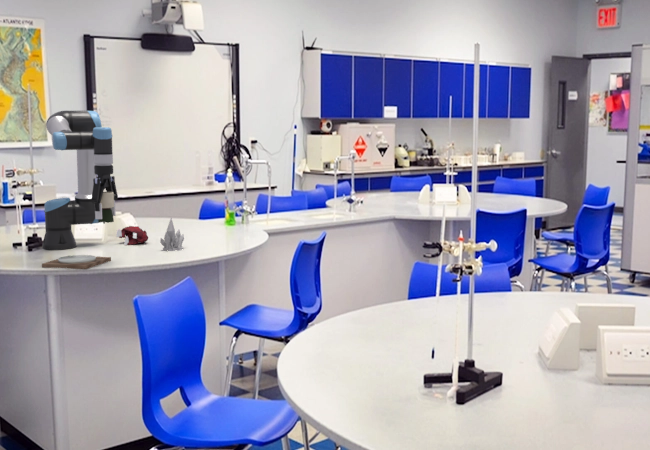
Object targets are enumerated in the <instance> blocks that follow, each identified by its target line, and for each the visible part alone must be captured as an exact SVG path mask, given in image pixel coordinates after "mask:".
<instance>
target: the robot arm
mask: <svg viewBox="0 0 650 450" xmlns="http://www.w3.org/2000/svg"><path fill="white" fill-rule="evenodd" d="M45 127H46V130H47V131H48V133H49V134H50V135H51V137H52V138H51V139H52V148H53V149H54V150H55V151H73V150H74V151H76V169H77V171H76V172H77V173H76V175H77V194H75V195H74V200H71V198H70V197H59V198H54V199H49V200H47V201H45V202H44V210H43V211H44V221H45V222H44V223H45V224H44V226H45V227H44V228H45V233H44V237H43V241H42V243H41V244H42V245H41V246H42V249H43V250H49V251H50V250H51V251H52V250H53V251H59V250H68V249H69V250H71V249H73V248H76V247H77V242H76V239H75V237H74V234H73V232H72V225H73V226H75V225H93V224H99V222H98V219H102V203H100V202H101V198H102V195H103V192H113V193H114V207H112V208H111V210H112V213H113V217H114V216H115V217H116V201H118V200H119V199H118V198H119V195H118V192H117V191H118V190H117V187H116V180H115V176H114V166H113V165H112V164H114V157H113V156H114V154H113V153H114V152H113V133H112V131H113V129H112V128H111V127H109V126H108V127H106V126H105V127H104V126H102V121H101V118H100V114H99V113H98V112H97V111H95V110H61V111H57V112H54V113H52V115H50V116H49V117H48V118H47V120H46V123H45Z"/></svg>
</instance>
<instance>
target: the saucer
mask: <svg viewBox="0 0 650 450" xmlns="http://www.w3.org/2000/svg"><path fill="white" fill-rule="evenodd" d="M96 257H97V256H95V255H91V254H89V255H88V254H73V255H65V256H62V257H59V258H57V259H58V262H60V263H67V264H76V263H87V262H92V261H95V260H96Z"/></svg>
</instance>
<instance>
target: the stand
mask: <svg viewBox="0 0 650 450" xmlns="http://www.w3.org/2000/svg"><path fill="white" fill-rule="evenodd" d="M95 257H96V260H95V261H92V262H87V263H76V264H67V263H60V262H58V259H59V258H56V259H54V260H53V259H52V260H50V261H47V262H44V263H41V268H46V269H47V268H51V269H75V270H88V269H91V268H95V267H98V266H99V265H102V264H105V263H109V262H111V261H112V257H111V256H95ZM108 261H109V262H108Z"/></svg>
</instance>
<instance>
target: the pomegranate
mask: <svg viewBox="0 0 650 450" xmlns="http://www.w3.org/2000/svg"><path fill="white" fill-rule="evenodd" d="M115 235H116V236H115V237H116V238H119V239H122V238H123V240H124V242H123V243H124V246H127V245H128V246H131V245H138V244H145V243H146V242H147V241H148V240H149V236H148V234H147V231H146V230H143V229H142V228H140V226H133V225H130V226H125V227H124V228H122V229H121V228H118V229H117V230H116V234H115Z"/></svg>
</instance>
